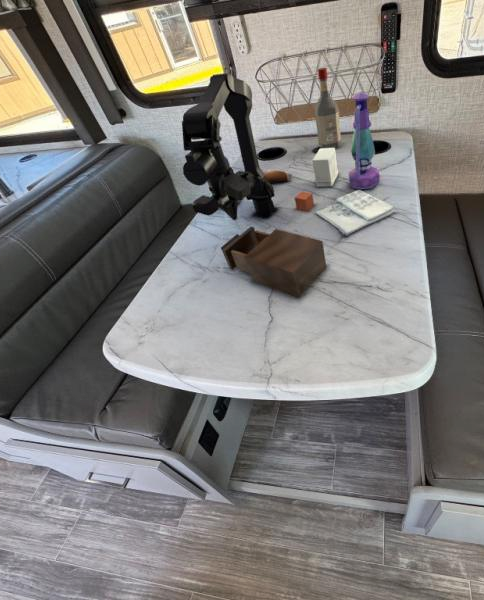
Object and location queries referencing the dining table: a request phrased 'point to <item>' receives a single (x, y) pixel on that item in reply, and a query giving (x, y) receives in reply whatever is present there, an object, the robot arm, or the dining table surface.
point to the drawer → (242, 248)
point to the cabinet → (286, 262)
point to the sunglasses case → (276, 176)
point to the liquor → (327, 115)
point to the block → (304, 201)
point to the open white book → (355, 211)
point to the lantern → (362, 147)
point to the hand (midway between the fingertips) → (234, 219)
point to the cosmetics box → (325, 167)
